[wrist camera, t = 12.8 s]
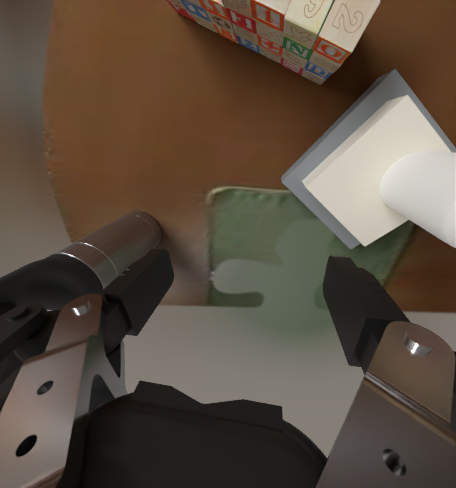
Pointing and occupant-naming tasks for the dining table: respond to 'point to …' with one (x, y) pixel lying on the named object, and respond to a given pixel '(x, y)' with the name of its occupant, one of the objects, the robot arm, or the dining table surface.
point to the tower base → (339, 134)
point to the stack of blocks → (288, 29)
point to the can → (424, 191)
